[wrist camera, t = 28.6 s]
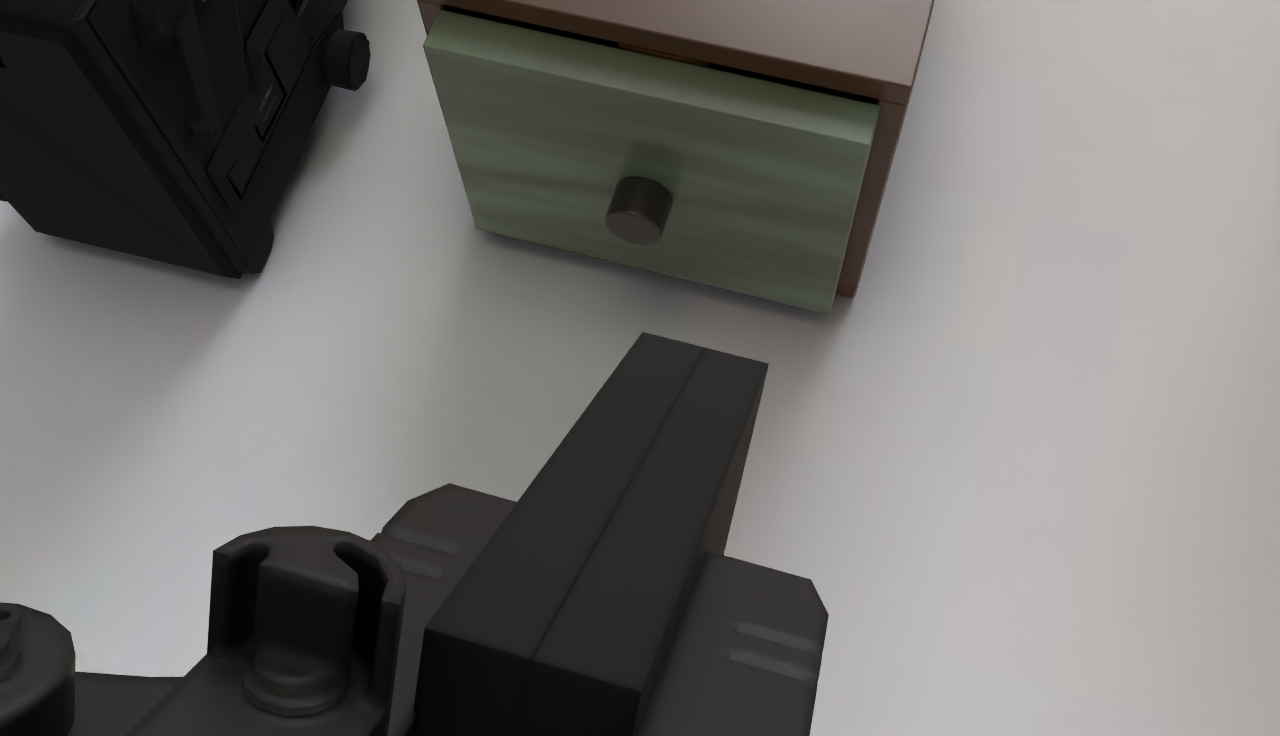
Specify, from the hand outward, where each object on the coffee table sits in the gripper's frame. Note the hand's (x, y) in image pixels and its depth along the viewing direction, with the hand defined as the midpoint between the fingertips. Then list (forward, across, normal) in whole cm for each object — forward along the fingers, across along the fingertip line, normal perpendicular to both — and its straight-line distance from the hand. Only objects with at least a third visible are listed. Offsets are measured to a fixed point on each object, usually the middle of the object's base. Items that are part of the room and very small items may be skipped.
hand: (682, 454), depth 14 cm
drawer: (+26, -5, -1) cm, 26 cm away
